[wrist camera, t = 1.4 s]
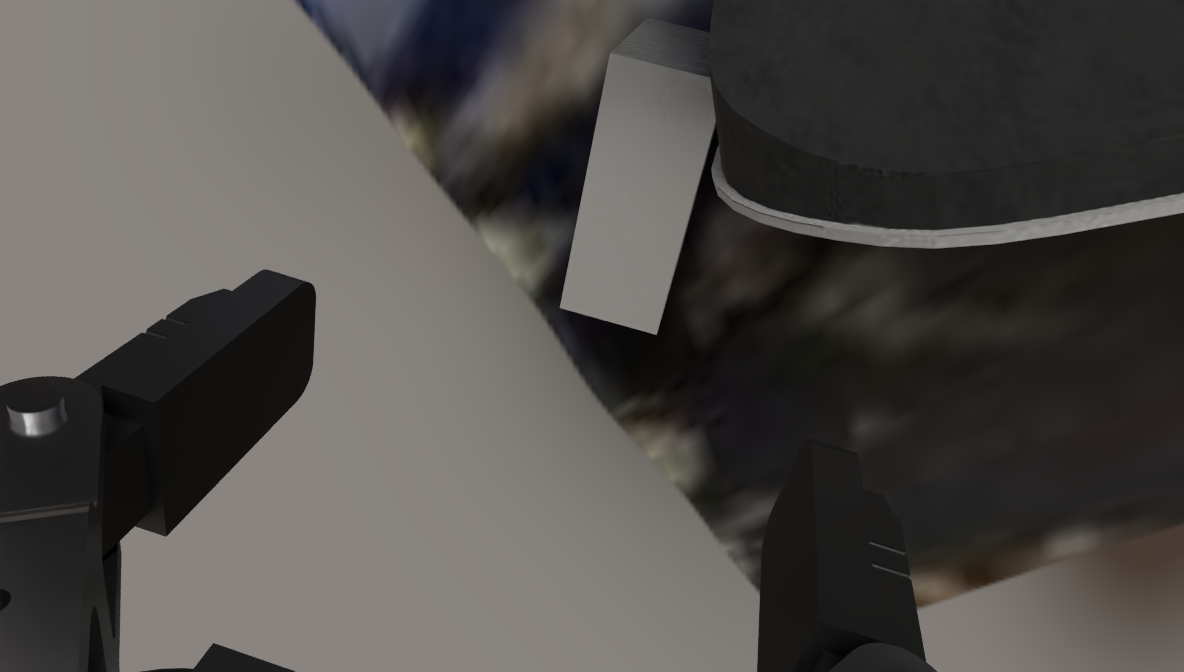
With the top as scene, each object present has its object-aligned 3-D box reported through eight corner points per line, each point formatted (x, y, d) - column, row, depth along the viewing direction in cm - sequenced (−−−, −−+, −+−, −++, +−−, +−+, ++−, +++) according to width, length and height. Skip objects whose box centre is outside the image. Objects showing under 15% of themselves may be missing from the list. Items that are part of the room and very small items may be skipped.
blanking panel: (648, 17, 24) (610, 53, 19) (739, 39, 24) (726, 82, 18) (602, 229, 27) (559, 307, 22) (681, 250, 27) (656, 334, 22)
